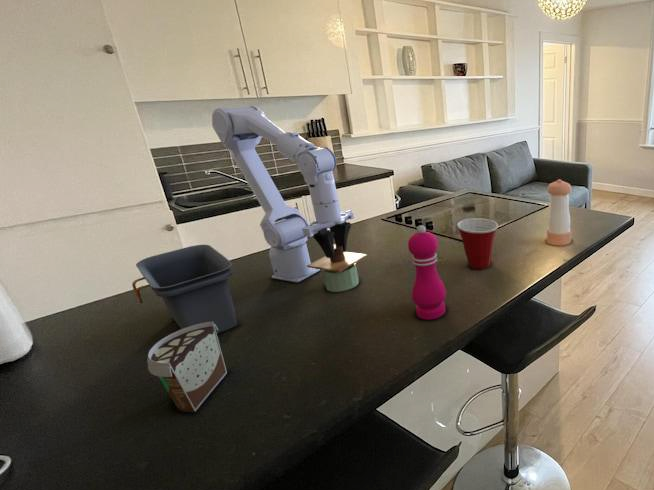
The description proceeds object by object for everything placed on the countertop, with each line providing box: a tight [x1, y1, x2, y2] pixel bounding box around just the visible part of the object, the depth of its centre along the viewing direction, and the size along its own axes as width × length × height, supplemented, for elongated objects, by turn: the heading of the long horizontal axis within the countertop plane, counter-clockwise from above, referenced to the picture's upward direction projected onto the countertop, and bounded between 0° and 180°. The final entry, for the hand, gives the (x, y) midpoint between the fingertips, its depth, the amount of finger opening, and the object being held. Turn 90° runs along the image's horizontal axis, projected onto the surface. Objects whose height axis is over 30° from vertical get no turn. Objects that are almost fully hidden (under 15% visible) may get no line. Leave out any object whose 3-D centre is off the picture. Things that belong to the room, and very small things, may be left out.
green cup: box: [321, 262, 360, 293], centre depth 103 cm, size 8×8×5 cm
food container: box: [146, 322, 228, 413], centre depth 66 cm, size 12×6×10 cm, turn 5°
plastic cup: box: [456, 217, 499, 270], centre depth 109 cm, size 11×11×12 cm
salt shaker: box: [546, 178, 573, 246], centre depth 121 cm, size 7×7×19 cm
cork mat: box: [307, 243, 368, 272], centre depth 100 cm, size 10×10×4 cm
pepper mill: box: [407, 224, 447, 321], centre depth 85 cm, size 7×7×20 cm
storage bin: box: [131, 244, 238, 335], centre depth 86 cm, size 21×16×14 cm
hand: (336, 254), depth 101 cm, fingers closed on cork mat, 3 cm apart
